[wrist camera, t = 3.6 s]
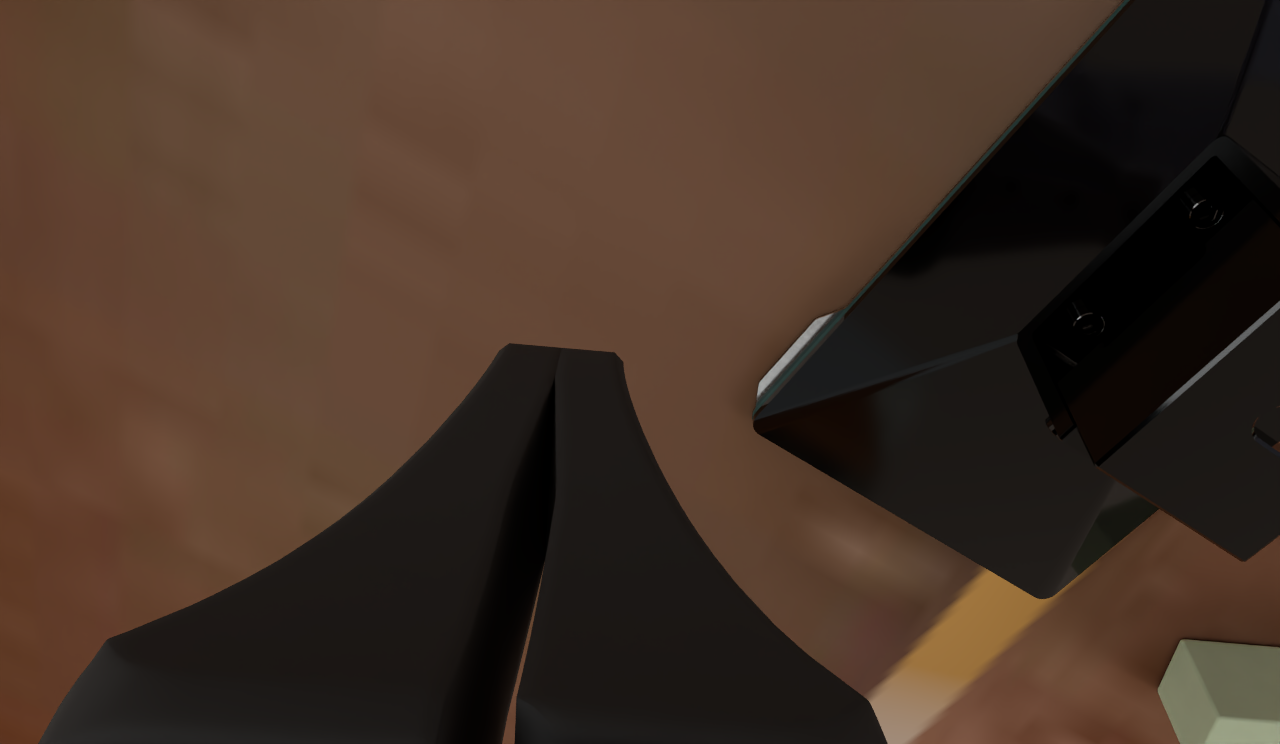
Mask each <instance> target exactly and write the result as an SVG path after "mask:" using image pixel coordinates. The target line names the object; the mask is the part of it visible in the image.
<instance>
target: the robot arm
mask: <svg viewBox="0 0 1280 744" xmlns="http://www.w3.org/2000/svg"><path fill="white" fill-rule="evenodd" d="M544 562H545V564H544ZM543 567H544V570H543ZM542 571H543V575H542ZM541 575H542V581H541V586H540V592H539V597H538V602H537V607H536V612H535V617H534V622H533V627H532V632H531V637H530V642H529V646H528V651H527V655H526V660H525V664H524V668H523V673H522V677H521V682H520V686H519V690H518V694H517V700H516V724H515V744H887V741H886V739H885V736H884V734H883V731H882V729H881V727H880V724H879V722H878V720H877V717H876V715H875V713H874V710H873V708H872V706H871V704H870V703H869V701H868V700H867V699H866V698H865V697H863V696H862V695H861V694H859V693H858V692H857V691H855V690H854V689H853V688H851V687H850V686H849V685H847V684H846V683H845V682H843V681H842V680H841V679H839V678H838V677H837V676H835V675H834V674H833V673H831V672H830V671H829V670H827V669H826V668H825V667H823V666H822V665H821V664H819V663H818V662H817V661H815V660H814V659H813V658H811V657H810V656H809V655H808V654H807V653H805V652H804V651H803V650H802V649H801V648H800V647H798V646H797V645H796V644H795V643H794V642H793V641H792V640H791V639H790V638H789V637H787V636H786V635H785V634H784V633H783V632H782V631H781V630H780V629H779V628H777V627H776V626H775V625H774V624H773V623H772V621H771V620H770V619H769V618H768V617H767V616H766V615H765V614H764V613H763V612H762V611H761V610H760V609H759V608H758V607H757V605H756V604H755V603H754V602H753V601H752V600H751V599H750V598H749V597H748V596H747V595H746V594H745V593H744V592H743V590H742V589H741V588H740V587H739V586H738V585H737V584H736V583H735V581H734V580H733V579H732V578H731V576H730V575H729V574H728V573H727V571H726V570H725V569H724V568H723V566H722V565H721V564H720V563H719V561H718V560H717V559H716V557H715V556H714V555H713V553H712V552H711V551H710V549H709V548H708V546H707V545H706V544H705V542H704V541H703V539H702V538H701V537H700V535H699V534H698V532H697V531H696V529H695V528H694V526H693V525H692V523H691V522H690V520H689V519H688V517H687V515H686V514H685V512H684V511H683V509H682V507H681V506H680V504H679V502H678V500H677V499H676V497H675V495H674V493H673V492H672V490H671V488H670V486H669V485H668V483H667V481H666V479H665V477H664V475H663V473H662V471H661V469H660V467H659V465H658V463H657V461H656V459H655V457H654V455H653V453H652V450H651V448H650V446H649V444H648V442H647V439H646V437H645V435H644V433H643V431H642V428H641V426H640V423H639V421H638V418H637V415H636V412H635V410H634V407H633V404H632V401H631V398H630V395H629V391H628V388H627V384H626V380H625V374H624V367H623V361H622V360H621V359H620V358H619V357H618V356H617V355H616V353H614V352H603V351H591V350H580V349H568V348H557V347H545V346H534V345H522V344H511V343H509V344H508V345H506V346H505V347H504V348H502V349H501V350H500V351H499V352H498V354H497V355H496V357H495V358H494V360H493V362H492V363H491V364H490V366H489V367H488V369H487V370H486V372H485V373H484V374H483V376H482V377H481V378H480V380H479V381H478V382H477V384H476V385H475V386H474V388H473V389H472V390H471V391H470V393H469V394H468V395H467V396H466V398H465V399H464V400H463V401H462V403H461V404H460V405H459V406H458V407H457V408H456V409H455V411H454V412H453V413H452V414H451V415H450V416H449V417H448V419H447V420H446V421H445V422H444V423H443V424H442V425H441V427H440V428H439V429H438V430H437V431H436V432H435V433H434V434H433V436H432V437H431V438H430V439H429V440H428V441H427V442H426V443H425V444H424V445H423V446H422V447H421V448H420V449H419V450H418V451H417V452H416V453H415V454H414V455H413V456H412V457H411V458H410V459H409V460H408V461H407V462H406V463H405V464H404V465H403V466H402V467H401V468H399V469H398V470H397V471H396V472H395V473H394V474H393V475H392V476H391V477H390V478H389V479H388V480H387V481H386V482H385V483H383V484H382V485H381V486H380V487H379V488H378V489H377V490H375V491H374V492H373V493H372V494H371V495H370V496H368V497H367V498H366V499H365V500H364V501H362V502H361V503H360V504H359V505H357V506H356V507H355V508H354V509H352V510H351V511H350V512H348V513H347V514H346V515H345V516H343V517H342V518H341V519H340V520H338V521H337V522H336V523H334V524H333V525H331V526H330V527H328V528H327V529H326V530H324V531H323V532H321V533H320V534H318V535H317V536H315V537H314V538H313V539H311V540H309V541H308V542H306V543H305V544H303V545H302V546H300V547H299V548H297V549H296V550H294V551H293V552H291V553H289V554H288V555H286V556H285V557H283V558H282V559H280V560H278V561H277V562H275V563H273V564H271V565H270V566H268V567H266V568H264V569H262V570H261V571H259V572H257V573H255V574H253V575H251V576H250V577H248V578H246V579H244V580H242V581H240V582H238V583H236V584H234V585H232V586H230V587H228V588H226V589H224V590H222V591H220V592H218V593H216V594H214V595H212V596H210V597H208V598H206V599H204V600H202V601H200V602H197V603H195V604H193V605H191V606H189V607H186V608H184V609H181V610H179V611H177V612H174V613H172V614H169V615H167V616H164V617H162V618H160V619H157V620H155V621H152V622H150V623H147V624H145V625H143V626H140V627H138V628H135V629H133V630H130V631H128V632H125V633H123V634H120V635H117V636H114V637H112V638H109V639H108V640H107V641H106V642H105V643H104V644H103V646H102V647H101V649H100V650H99V651H98V653H97V654H96V656H95V657H94V659H93V660H92V661H91V663H90V664H89V665H88V667H87V668H86V669H85V670H84V672H83V673H82V674H81V675H80V677H79V678H78V679H77V681H76V682H75V684H74V685H73V687H72V688H71V690H70V691H69V692H68V694H67V695H66V697H65V698H64V700H63V701H62V703H61V704H60V706H59V708H58V709H57V711H56V713H55V715H54V716H53V718H52V720H51V722H50V724H49V725H48V727H47V729H46V731H45V733H44V734H43V736H42V738H41V740H40V741H39V743H38V744H502V741H503V736H504V730H505V725H506V720H507V715H508V711H509V707H510V703H511V699H512V695H513V691H514V687H515V683H516V678H517V674H518V670H519V666H520V662H521V658H522V654H523V650H524V646H525V641H526V637H527V633H528V629H529V625H530V621H531V617H532V613H533V609H534V604H535V600H536V596H537V592H538V588H539V584H540V579H541Z"/></svg>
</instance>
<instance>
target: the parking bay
mask: <svg viewBox="0 0 1280 744" xmlns="http://www.w3.org/2000/svg"><path fill="white" fill-rule="evenodd" d="M1158 694H1159V696H1160V698H1161V701H1162V703H1163V705H1164V708H1165V710H1166V712H1167V715H1168V717H1169V719H1170V722H1171V724H1172V726H1173V728H1174V731H1175V733H1176V735H1177V738H1178V740H1179V742H1180V744H1280V647H1271V646H1259V645H1247V644H1235V643H1223V642H1211V641H1199V640H1187V639H1182V640H1180V642H1179V644H1178V647H1177V649H1176V651H1175V653H1174V655H1173V657H1172V660H1171V662H1170V664H1169V666H1168V668H1167V670H1166V672H1165V675H1164V677H1163V679H1162V681H1161V683H1160V685H1159V688H1158Z"/></svg>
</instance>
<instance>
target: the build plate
mask: <svg viewBox="0 0 1280 744" xmlns="http://www.w3.org/2000/svg"><path fill="white" fill-rule="evenodd" d="M752 419H753V427H754V430H755V431H756V432H757V433H758V434H759V435H761V436H763V437H764V438H766V439H768V440H769V441H771V442H773V443H774V444H776V445H778V446H780V447H781V448H783V449H785V450H786V451H788V452H790V453H791V454H793V455H795V456H796V457H798V458H800V459H802V460H803V461H805V462H807V463H808V464H810V465H812V466H813V467H815V468H817V469H818V470H820V471H822V472H824V473H825V474H827V475H829V476H830V477H832V478H834V479H835V480H837V481H839V482H841V483H842V484H844V485H846V486H847V487H849V488H851V489H852V490H854V491H856V492H857V493H859V494H861V495H863V496H864V497H866V498H868V499H869V500H871V501H873V502H874V503H876V504H878V505H879V506H881V507H883V508H885V509H886V510H888V511H890V512H891V513H893V514H895V515H896V516H898V517H900V518H902V519H903V520H905V521H907V522H908V523H910V524H912V525H913V526H915V527H917V528H918V529H920V530H922V531H924V532H925V533H927V534H929V535H930V536H932V537H934V538H935V539H937V540H939V541H940V542H942V543H944V544H946V545H947V546H949V547H951V548H952V549H954V550H956V551H957V552H959V553H961V554H962V555H964V556H966V557H968V558H969V559H971V560H973V561H974V562H976V563H978V564H979V565H981V566H983V567H985V568H986V569H988V570H990V571H991V572H993V573H995V574H996V575H998V576H1000V577H1001V578H1003V579H1005V580H1007V581H1008V582H1010V583H1012V584H1014V585H1015V586H1017V587H1018V588H1020V589H1022V590H1023V591H1025V592H1027V593H1029V594H1030V595H1032V596H1034V597H1036V598H1039V599H1047V598H1050V597H1052V596H1054V595H1055V594H1056V593H1058V592H1059V591H1060V590H1061V589H1063V588H1064V587H1065V586H1066V585H1067V584H1069V583H1070V582H1071V581H1072V580H1073V579H1075V578H1076V577H1077V576H1078V575H1079V574H1081V573H1082V572H1083V571H1084V570H1086V569H1087V568H1088V567H1089V566H1090V565H1092V564H1093V563H1094V562H1095V561H1096V560H1098V559H1099V558H1100V557H1101V556H1102V555H1104V554H1105V553H1106V552H1107V551H1108V550H1110V549H1111V548H1112V547H1113V546H1115V545H1116V544H1117V543H1118V542H1119V541H1121V540H1122V539H1123V538H1124V537H1125V536H1127V535H1128V534H1129V533H1130V532H1131V531H1133V530H1134V529H1135V528H1136V527H1137V526H1139V525H1140V524H1141V523H1142V522H1144V521H1145V520H1146V519H1147V518H1148V517H1150V516H1151V515H1152V514H1153V513H1154V512H1156V511H1157V510H1158V509H1161V510H1162V511H1164V512H1165V513H1167V514H1168V515H1170V516H1172V517H1173V518H1175V519H1176V520H1178V521H1179V522H1181V523H1182V524H1184V525H1186V526H1187V527H1189V528H1190V529H1192V530H1193V531H1195V532H1196V533H1198V534H1199V535H1201V536H1203V537H1204V538H1206V539H1207V540H1209V541H1210V542H1212V543H1213V544H1215V545H1217V546H1218V547H1220V548H1221V549H1223V550H1224V551H1226V552H1227V553H1229V554H1230V555H1232V556H1234V557H1235V558H1237V559H1238V560H1240V561H1244V562H1246V561H1247V560H1248V559H1250V558H1251V557H1252V556H1254V555H1255V554H1256V553H1258V552H1259V551H1260V550H1261V549H1263V548H1264V547H1265V546H1267V545H1268V544H1269V543H1271V542H1272V541H1273V540H1275V539H1276V538H1277V537H1278V536H1280V443H1279V442H1280V0H1123V1H1122V2H1121V3H1120V4H1119V5H1118V6H1117V7H1116V8H1115V10H1114V11H1113V12H1112V13H1111V14H1110V15H1109V16H1108V17H1107V18H1106V19H1105V21H1104V22H1103V23H1102V24H1101V25H1100V26H1099V27H1098V28H1097V29H1096V31H1095V32H1094V33H1093V34H1092V35H1091V36H1090V37H1089V38H1088V39H1087V40H1086V42H1085V43H1084V44H1083V45H1082V46H1081V47H1080V48H1079V49H1078V50H1077V52H1076V53H1075V54H1074V55H1073V56H1072V57H1071V58H1070V59H1069V60H1068V62H1067V63H1066V64H1065V65H1064V66H1063V67H1062V68H1061V69H1060V70H1059V71H1058V73H1057V74H1056V75H1055V76H1054V77H1053V78H1052V79H1051V80H1050V81H1049V83H1048V84H1047V85H1046V86H1045V87H1044V88H1043V89H1042V90H1041V91H1040V92H1039V94H1038V95H1037V96H1036V97H1035V98H1034V99H1033V100H1032V101H1031V102H1030V104H1029V105H1028V106H1027V107H1026V108H1025V109H1024V110H1023V111H1022V112H1021V113H1020V115H1019V116H1018V117H1017V118H1016V119H1015V120H1014V121H1013V122H1012V123H1011V125H1010V126H1009V127H1008V128H1007V129H1006V130H1005V131H1004V132H1003V133H1002V135H1001V136H1000V137H999V138H998V139H997V140H996V141H995V142H994V143H993V144H992V146H991V147H990V148H989V149H988V150H987V151H986V152H985V153H984V154H983V156H982V157H981V158H980V159H979V160H978V161H977V162H976V163H975V164H974V165H973V167H972V168H971V169H970V170H969V171H968V172H967V173H966V174H965V175H964V177H963V178H962V179H961V180H960V181H959V182H958V183H957V184H956V185H955V186H954V188H953V189H952V190H951V191H950V192H949V193H948V194H947V195H946V196H945V198H944V199H943V200H942V201H941V202H940V203H939V204H938V205H937V206H936V208H935V209H934V210H933V211H932V212H931V213H930V214H929V215H928V216H927V217H926V219H925V220H924V221H923V222H922V223H921V224H920V225H919V226H918V227H917V229H916V230H915V231H914V232H913V233H912V234H911V235H910V236H909V237H908V238H907V240H906V241H905V242H904V243H903V244H902V245H901V246H900V247H899V248H898V250H897V251H896V252H895V253H894V254H893V255H892V256H891V257H890V258H889V259H888V261H887V262H886V263H885V264H884V265H883V266H882V267H881V268H880V269H879V271H878V272H877V273H876V274H875V275H874V276H873V277H872V278H871V279H870V281H869V282H868V283H867V284H866V285H865V286H864V287H863V288H862V289H861V290H860V292H859V293H858V294H857V295H856V296H855V297H854V298H853V299H852V300H851V302H850V303H849V304H848V305H847V306H846V307H844V308H841V309H839V310H836V311H833V312H831V313H828V314H825V315H822V316H820V317H817V318H815V319H814V320H813V321H812V322H811V324H810V325H809V326H808V327H807V328H806V329H805V330H804V331H803V332H802V334H801V335H800V336H799V337H798V338H797V339H796V340H795V341H794V343H793V344H792V345H791V346H790V347H789V348H788V349H787V350H786V352H785V353H784V354H783V355H782V356H781V357H780V358H779V359H778V360H777V362H776V363H775V364H774V365H773V366H772V367H771V368H770V369H769V371H768V372H767V373H766V374H765V375H764V376H763V377H762V378H761V380H760V381H759V384H758V392H757V399H756V406H755V408H754V410H753V413H752Z"/></svg>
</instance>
